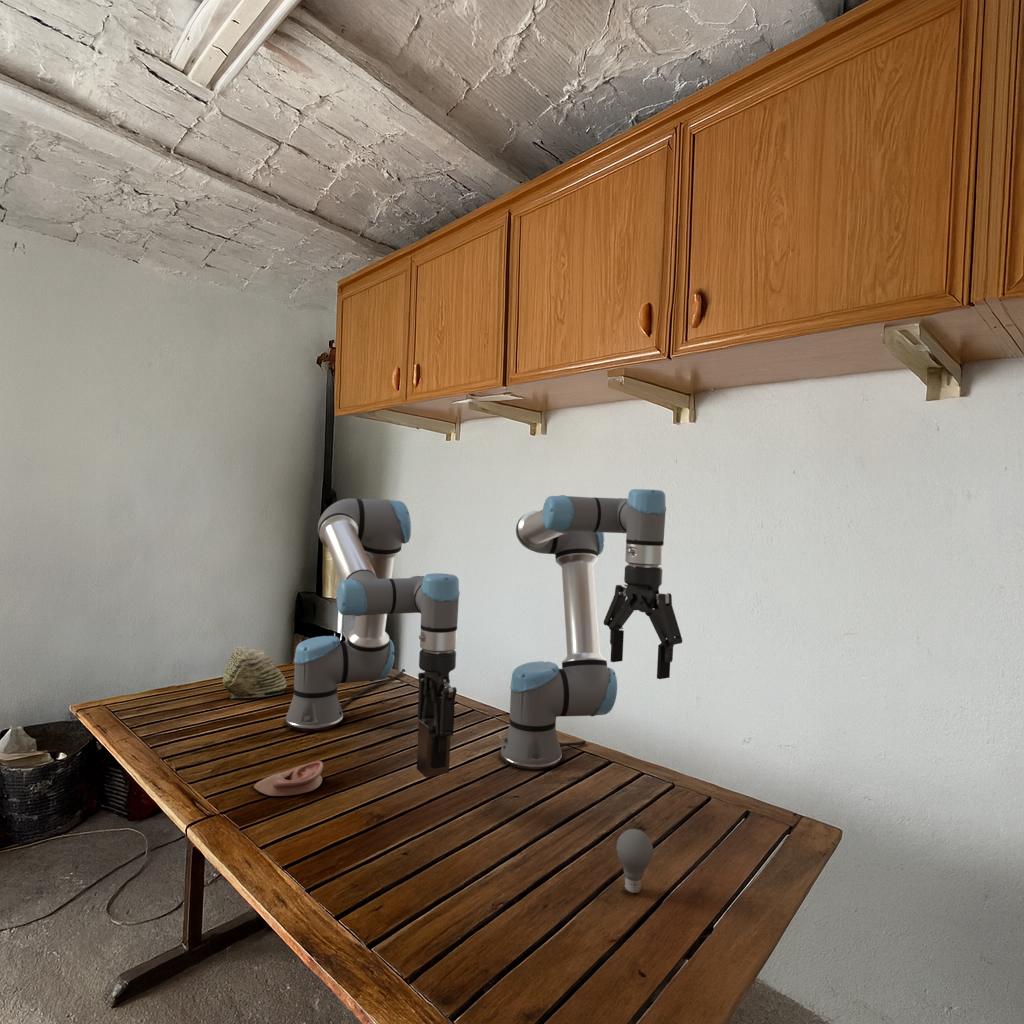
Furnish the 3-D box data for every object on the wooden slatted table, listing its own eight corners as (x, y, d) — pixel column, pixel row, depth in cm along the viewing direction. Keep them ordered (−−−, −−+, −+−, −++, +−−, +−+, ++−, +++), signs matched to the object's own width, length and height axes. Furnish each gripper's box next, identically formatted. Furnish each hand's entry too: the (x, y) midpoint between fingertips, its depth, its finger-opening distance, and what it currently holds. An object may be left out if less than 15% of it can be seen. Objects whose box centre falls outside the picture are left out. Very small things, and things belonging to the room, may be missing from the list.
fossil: (218, 695, 195) (220, 647, 195) (278, 685, 208) (279, 640, 207) (228, 703, 189) (230, 653, 188) (289, 692, 201) (290, 645, 201)
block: (416, 768, 131) (418, 719, 131) (439, 764, 134) (441, 715, 134) (425, 777, 127) (427, 726, 127) (449, 772, 130) (451, 723, 130)
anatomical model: (246, 773, 134) (276, 753, 145) (245, 792, 134) (276, 770, 145) (303, 782, 131) (330, 760, 142) (302, 801, 131) (329, 777, 142)
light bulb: (610, 879, 108) (613, 822, 108) (644, 879, 109) (647, 822, 109) (619, 902, 102) (622, 840, 102) (655, 901, 103) (658, 840, 103)
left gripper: (404, 641, 136) (399, 749, 136) (440, 661, 121) (434, 782, 121) (436, 639, 140) (431, 743, 140) (474, 658, 125) (469, 775, 125)
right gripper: (590, 559, 137) (585, 656, 137) (676, 573, 116) (670, 688, 116) (616, 558, 141) (612, 653, 141) (704, 572, 120) (699, 683, 120)
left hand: (433, 761), depth 131 cm, fingers closed on block, 5 cm apart
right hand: (638, 669), depth 129 cm, fingers open, 13 cm apart
